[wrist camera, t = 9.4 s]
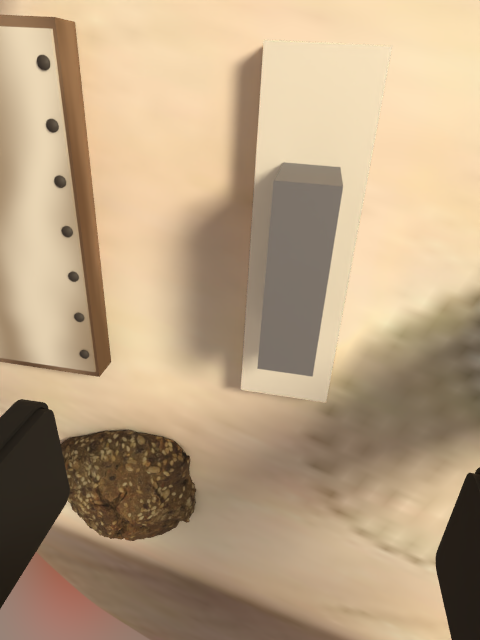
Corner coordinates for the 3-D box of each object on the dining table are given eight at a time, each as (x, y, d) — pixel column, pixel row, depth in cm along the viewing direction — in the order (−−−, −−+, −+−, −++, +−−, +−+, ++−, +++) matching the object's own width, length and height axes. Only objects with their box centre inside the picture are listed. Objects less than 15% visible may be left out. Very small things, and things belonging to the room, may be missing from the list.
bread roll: (51, 424, 39) (17, 467, 35) (182, 423, 37) (162, 468, 32) (95, 522, 45) (70, 569, 41) (211, 527, 42) (198, 578, 38)
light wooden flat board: (74, 22, 24) (51, 16, 22) (110, 361, 34) (97, 379, 32) (-122, 13, 25) (-161, 7, 23) (-30, 341, 36) (-51, 356, 34)
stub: (388, 48, 22) (409, 35, 16) (326, 388, 32) (325, 455, 26) (267, 42, 23) (247, 28, 17) (244, 376, 33) (226, 439, 27)
